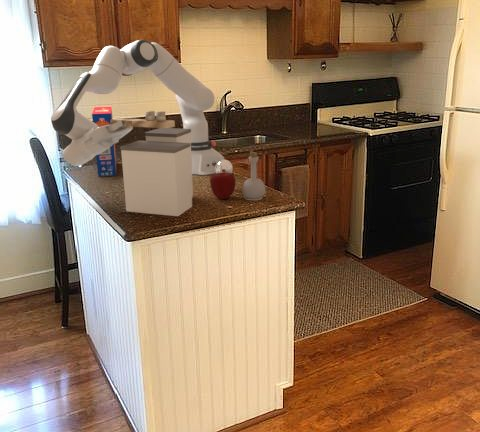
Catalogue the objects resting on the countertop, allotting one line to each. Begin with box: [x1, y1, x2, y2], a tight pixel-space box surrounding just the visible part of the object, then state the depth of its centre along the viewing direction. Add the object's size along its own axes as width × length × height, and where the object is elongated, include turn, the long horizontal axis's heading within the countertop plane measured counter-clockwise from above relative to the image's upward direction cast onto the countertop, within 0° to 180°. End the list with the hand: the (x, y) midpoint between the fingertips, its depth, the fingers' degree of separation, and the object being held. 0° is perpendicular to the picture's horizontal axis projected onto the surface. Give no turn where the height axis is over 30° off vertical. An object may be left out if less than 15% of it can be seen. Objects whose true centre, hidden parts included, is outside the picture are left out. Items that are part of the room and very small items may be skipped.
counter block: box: [119, 127, 194, 217], centre depth 188 cm, size 20×24×26 cm
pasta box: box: [91, 106, 117, 177], centre depth 245 cm, size 28×8×28 cm, turn 13°
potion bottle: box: [241, 150, 267, 202], centre depth 195 cm, size 9×9×18 cm
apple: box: [209, 172, 236, 200], centre depth 197 cm, size 10×10×10 cm
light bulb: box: [215, 159, 234, 174], centre depth 210 cm, size 7×7×12 cm
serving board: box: [110, 110, 176, 129], centre depth 179 cm, size 22×6×5 cm, turn 71°
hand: (127, 121), depth 181 cm, fingers closed on serving board, 4 cm apart
